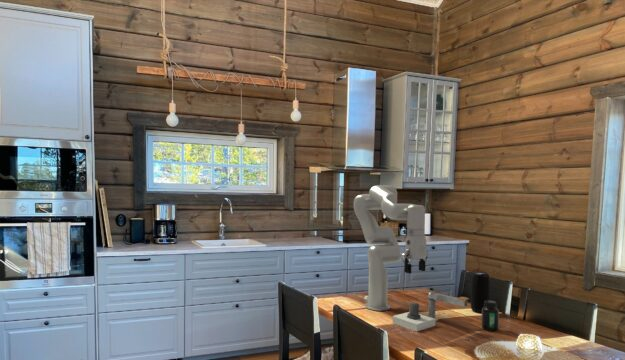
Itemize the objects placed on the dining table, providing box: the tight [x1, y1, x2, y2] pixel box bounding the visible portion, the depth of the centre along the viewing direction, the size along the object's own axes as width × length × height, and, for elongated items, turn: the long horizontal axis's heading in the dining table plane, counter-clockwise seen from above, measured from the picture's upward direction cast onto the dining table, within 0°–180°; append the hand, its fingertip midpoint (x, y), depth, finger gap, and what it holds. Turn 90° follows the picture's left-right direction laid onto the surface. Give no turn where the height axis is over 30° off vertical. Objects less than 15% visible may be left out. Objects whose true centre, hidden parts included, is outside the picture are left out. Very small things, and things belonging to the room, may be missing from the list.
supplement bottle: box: [481, 299, 500, 332], centre depth 181 cm, size 7×7×12 cm
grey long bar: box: [427, 291, 470, 307], centre depth 184 cm, size 4×18×3 cm, turn 44°
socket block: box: [392, 298, 439, 332], centre depth 184 cm, size 13×22×10 cm, turn 128°
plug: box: [407, 302, 421, 320], centre depth 181 cm, size 6×6×9 cm
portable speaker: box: [469, 270, 491, 314], centre depth 207 cm, size 9×9×20 cm
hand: (415, 271), depth 182 cm, fingers open, 9 cm apart
